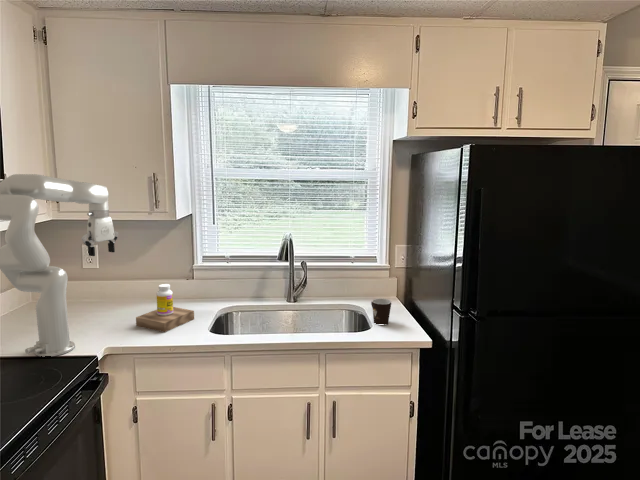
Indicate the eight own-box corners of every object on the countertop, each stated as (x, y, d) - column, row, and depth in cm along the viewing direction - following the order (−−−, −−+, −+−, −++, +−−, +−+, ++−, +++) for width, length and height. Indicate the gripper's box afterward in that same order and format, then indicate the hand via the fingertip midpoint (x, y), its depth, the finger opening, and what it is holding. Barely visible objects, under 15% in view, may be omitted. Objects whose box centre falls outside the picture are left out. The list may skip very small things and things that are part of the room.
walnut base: (164, 332, 176) (164, 323, 176) (136, 326, 183) (135, 317, 182) (194, 319, 192) (194, 310, 192) (167, 313, 199) (166, 305, 198)
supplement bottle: (167, 316, 183) (166, 288, 181) (154, 315, 185) (152, 286, 183) (176, 312, 190) (175, 284, 187) (163, 310, 191) (162, 282, 189)
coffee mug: (392, 326, 186) (393, 304, 185) (372, 326, 186) (373, 304, 185) (387, 317, 198) (388, 296, 196) (369, 317, 198) (370, 296, 196)
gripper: (86, 216, 172) (89, 258, 175) (122, 213, 187) (124, 251, 190) (74, 215, 175) (77, 256, 178) (110, 212, 191) (112, 250, 193)
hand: (102, 253), depth 184 cm, fingers open, 9 cm apart
